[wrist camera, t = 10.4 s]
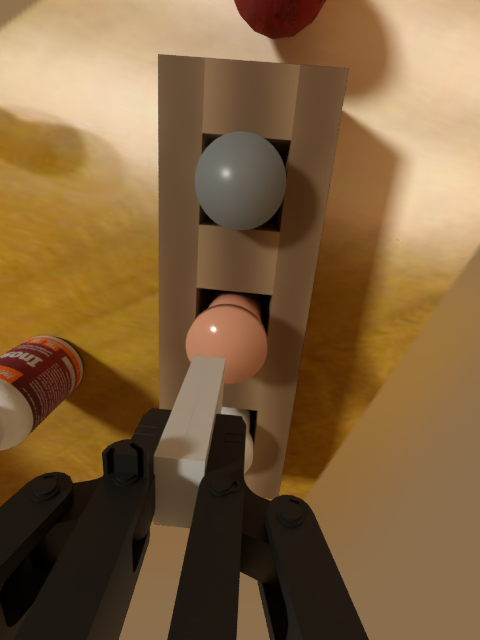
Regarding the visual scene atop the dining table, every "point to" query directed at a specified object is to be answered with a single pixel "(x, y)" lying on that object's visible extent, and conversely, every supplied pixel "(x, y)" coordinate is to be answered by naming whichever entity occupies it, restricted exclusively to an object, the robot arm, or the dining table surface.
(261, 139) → the plug blue-grey
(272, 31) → the onion
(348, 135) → the dining table surface
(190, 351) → the plug terracotta
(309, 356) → the dining table surface
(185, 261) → the socket block
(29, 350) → the pill bottle
